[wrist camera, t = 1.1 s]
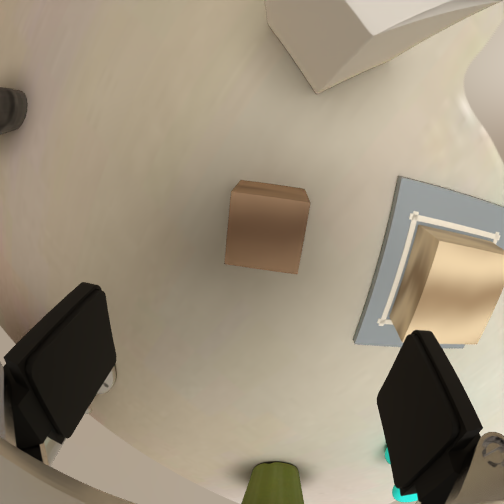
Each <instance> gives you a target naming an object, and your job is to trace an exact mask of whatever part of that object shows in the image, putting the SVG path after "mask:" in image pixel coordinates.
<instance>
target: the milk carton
mask: <svg viewBox="0 0 504 504" xmlns="http://www.w3.org/2000/svg"><path fill="white" fill-rule="evenodd" d="M501 1H503V0H265V7H266V15H267V22H268V25H269V27H270V28H271V29H272V31H273V32H274V33H275V35H276V36H277V37H278V39H279V40H280V41H281V43H282V44H283V46H284V47H285V48H286V50H287V51H288V53H289V54H290V55H291V57H292V58H293V60H294V61H295V63H296V64H297V66H298V67H299V69H300V70H301V72H302V73H303V75H304V76H305V78H306V79H307V81H308V82H309V84H310V85H311V87H312V88H313V90H314V91H315V93H316V94H319V93H321V92H323V91H325V90H327V89H329V88H331V87H333V86H335V85H337V84H339V83H341V82H343V81H345V80H347V79H349V78H352V77H354V76H356V75H358V74H360V73H363V72H365V71H367V70H369V69H372V68H374V67H376V66H379V65H381V64H383V63H386V62H388V61H390V60H392V59H394V58H395V57H397V56H399V55H400V54H402V53H404V52H405V51H407V50H409V49H410V48H412V47H414V46H416V45H417V44H419V43H421V42H422V41H424V40H426V39H428V38H430V37H431V36H433V35H435V34H437V33H439V32H440V31H442V30H444V29H446V28H448V27H450V26H452V25H454V24H455V23H457V22H459V21H461V20H463V19H465V18H467V17H469V16H471V15H473V14H475V13H477V12H479V11H481V10H483V9H486V8H488V7H490V6H492V5H494V4H496V3H499V2H501Z"/></svg>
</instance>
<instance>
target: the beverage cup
mask: <svg viewBox="0 0 504 504" xmlns="http://www.w3.org/2000/svg"><path fill="white" fill-rule="evenodd" d="M26 112H27V99H26V96H25V94H24V93H23V92H22V91H19V90H13V89H9V88H2V87H0V134H3V133H6V132H9V131H12V130H16V129H17V128H19V127H20V125H21V124H22V123H23V121H24V118H25V116H26Z"/></svg>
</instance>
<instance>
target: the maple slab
mask: <svg viewBox="0 0 504 504" xmlns="http://www.w3.org/2000/svg"><path fill="white" fill-rule="evenodd" d="M503 287H504V250H503V249H502V248H500V247H499V246H497V245H496V244H494V243H493V242H491V241H488V240H484V239H480V238H476V237H472V236H467V235H463V234H459V233H455V232H450V231H446V230H441V229H437V228H432V227H428V226H423V225H418V228H417V232H416V236H415V239H414V243H413V247H412V250H411V253H410V257H409V260H408V263H407V267H406V270H405V273H404V276H403V279H402V282H401V285H400V288H399V291H398V294H397V297H396V300H395V302H394V305H393V308H392V311H391V313H390V316H389V317H390V319H391V321H392V323H393V325H394V327H395V329H396V331H397V333H398V335H399V337H400V339H401V341H402V343H404V340H405V338H406V336H407V335H409V334H411V333H412V332H413V331H414V330H426V331H432V333H433V334H434V336H435V337H436V339H437V341H438V342H439V344H477V343H478V341H479V339H480V337H481V335H482V333H483V331H484V329H485V327H486V325H487V323H488V321H489V319H490V317H491V315H492V313H493V310H494V308H495V306H496V304H497V301H498V299H499V297H500V294H501V292H502V289H503Z"/></svg>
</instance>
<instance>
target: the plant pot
mask: <svg viewBox="0 0 504 504" xmlns="http://www.w3.org/2000/svg"><path fill="white" fill-rule="evenodd" d="M241 504H304V500H303V495H302V489H301V483H300V477H299V472H298V470H297V468H296V467H295V466H293V465H290V464H286V463H281V462H274V463H271V464H266V463H263V464H259V465H257V466H256V467H255V468H254V469H253V471H252V475H251V478H250V481H249V484H248V486H247V489H246V492H245V495H244V498H243V501H242V503H241Z"/></svg>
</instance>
